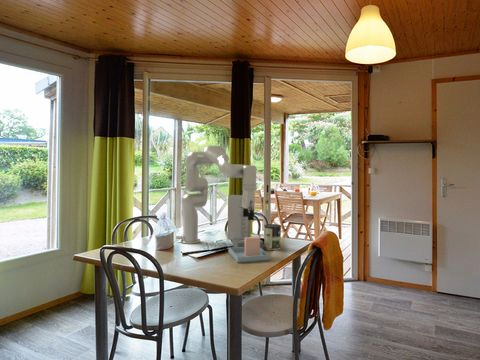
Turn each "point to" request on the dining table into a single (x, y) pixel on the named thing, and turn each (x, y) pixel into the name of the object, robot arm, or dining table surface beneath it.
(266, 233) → the coffee can
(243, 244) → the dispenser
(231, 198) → the tall white slab
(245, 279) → the dining table surface
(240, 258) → the tray
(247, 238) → the pink rectangular block
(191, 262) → the dining table surface
